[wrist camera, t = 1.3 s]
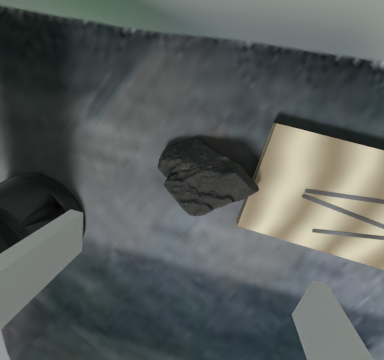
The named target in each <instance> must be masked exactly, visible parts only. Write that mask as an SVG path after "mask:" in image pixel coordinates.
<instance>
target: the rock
mask: <svg viewBox="0 0 384 360" xmlns="http://www.w3.org/2000/svg"><path fill="white" fill-rule="evenodd" d="M158 169H159V170H160V171H161V172H162V173H163V174H164V175H165V177H166V178H167V179H166V181H165V184H164V186H165V188H166V189H167V190H168V192H169V193H170V194H171V195H172V196H173V197H174V198H175V199H176V201H177V202H178V203H179V205H180V206H181V207H182V208H183V209H184V210H185V211H186V212H187V213H188V214H189V215H193V216H202V215H205V214H207V213H209V212H211V211H212V210H214V209H217V208H220V207H223V206H225V205H228V204H230V203H233V202H236V201H240V200H243V199H245V198H247V197H249V196H250V195H253V194H254V193H256V192H258V191H259V187H258V185H257V184H256V183H255V182H254V181H253V180H252V179H251V178H250V177H249V176H248V175H247V173H246V171H245V170H244V169H243V168H242V167H241V166H240V165H239V164H237V163H236V162H234V161H231V160H230V159H229V158H228V157H226V156H224V155H222V154H220V153H217V152H216V151H214V150H212V149H211V148H209V147H207V146H206V145H205V144H204V143H203V142H200V141H199V140H197V139H195V140H192V141H186V142H183V143H178V144H175V145H173V146H170V147H169V148H167V149H166V150H164V151H163V153H162V155H161V156H160V159H159V163H158Z"/></svg>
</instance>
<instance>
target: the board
mask: <svg viewBox="0 0 384 360" xmlns="http://www.w3.org/2000/svg"><path fill="white" fill-rule="evenodd" d="M252 180H253V181H254V182H255V183H256V184H257V185H258V187H259V191H258V192H256V193H254V194H253V195H250V196H249V197H247V198H245V200H244V202H243V205H242V208H241V210H240V213H239V216H238V218H237V226H239V227H242V228H245V229H249V230H252V231H255V232H259V233H262V234H265V235H269V236H272V237H275V238H279V239H282V240H286V241H289V242H292V243H296V244H299V245H302V246H306V247H309V248H312V249H316V250H319V251H322V252H326V253H329V254H332V255H336V256H339V257H343V258H346V259H349V260H353V261H356V262H359V263H363V264H366V265H369V266H373V267H376V268H379V269H383V270H384V150H380V149H376V148H372V147H368V146H364V145H360V144H356V143H352V142H348V141H345V140H341V139H337V138H333V137H329V136H325V135H321V134H317V133H313V132H309V131H305V130H301V129H297V128H293V127H289V126H285V125H281V124H278V123H273V125H272V128H271V130H270V133H269V136H268V138H267V141H266V144H265V146H264V149H263V152H262V154H261V157H260V160H259V162H258V165H257V168H256V170H255V173H254V176H253V178H252Z"/></svg>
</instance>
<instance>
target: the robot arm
mask: <svg viewBox="0 0 384 360" xmlns="http://www.w3.org/2000/svg"><path fill="white" fill-rule="evenodd" d="M84 229H85V224H84V217H83V213H82V211H81V209H80V207H79V205H78V203H77V201H76V200H75V198H74V197H73V196H72V195H71V193H70V192H69V191H68V190H67V189H66V188H65V187H63V186H62V185H61V184H59V183H58V182H57V181H55V180H53V179H51V178H49V177H47V176H44V175H40V174H35V173H27V174H22V175H19V176H16V177H12V178H9V179H7V180H5V181H3V182H1V183H0V330H1V329H2V328H3V327H4V326H5V325H6V324H7V323H8V322H9V321H10V320H11V319H12V318H13V317H14V316H15V315H16V314H17V313H18V312H19V311H20V310H21V309H22V308H23V307H24V306H26V305H27V304H28V303H29V302H30V301H31V300H32V299H33V298H34V297H35V296H36V295H37V294H38V293H39V292H40V291H41V290H42V289H43V288H44V287H45V286H46V285H47V284H48V283H49V282H50V281H51V280H52V279H53V278H54V277H55V276H56V275H57V274H58V273H59V272H60V271H62V270H63V269H64V268H65V267H66V266H67V265H68V264H69V263H70V262H71V261H72V260H73V259H74V258H75V257H76V256H77V255H78V254H79V253H80V252H81V251H82V237H83V235H84ZM292 317H293V320H294V323H295V326H296V329H297V332H298V335H299V337H300V340H301V343H302V346H303V349H304V352H305V355H306V358H307V360H373V358H372V357H371V355H370V353H369V352H368V350H367V348H366V347H365V345H364V344H363V342H362V340H361V339H360V337H359V335H358V334H357V332H356V330H355V329H354V327H353V326H352V324H351V322H350V321H349V319H348V317H347V316H346V314H345V313H344V311H343V309H342V308H341V306H340V304H339V303H338V301H337V299H336V298H335V296H334V295H333V293H332V291H331V290H330V288H329V286H328V285H327V284H324V283H320V282H317V281H314V280H313V281H312V282H311V284H310V286H309V287H308V289H307V291H306V292H305V294H304V296H303V297H302V299H301V300H300V302H299V304H298V305H297V307H296V309H295V310H294V312H293V314H292Z"/></svg>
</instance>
